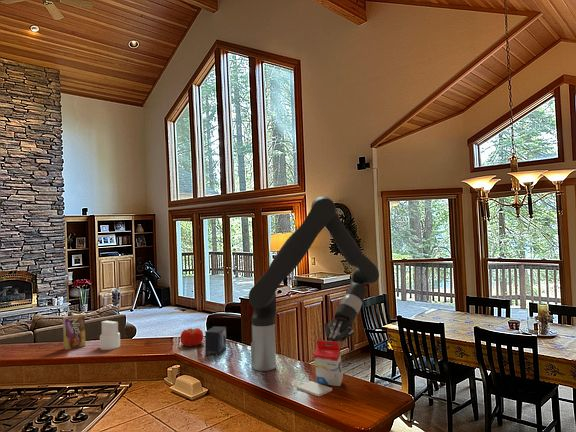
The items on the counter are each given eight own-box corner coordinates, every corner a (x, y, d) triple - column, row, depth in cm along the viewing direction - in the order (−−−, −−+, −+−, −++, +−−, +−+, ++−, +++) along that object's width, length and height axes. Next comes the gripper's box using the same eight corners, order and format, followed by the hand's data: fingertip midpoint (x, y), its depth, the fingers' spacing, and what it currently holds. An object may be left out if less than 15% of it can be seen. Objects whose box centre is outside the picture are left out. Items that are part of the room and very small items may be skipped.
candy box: (83, 344, 210) (82, 313, 210) (85, 346, 207) (85, 314, 207) (63, 348, 204) (62, 316, 204) (65, 350, 201) (65, 317, 201)
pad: (296, 388, 145) (296, 386, 145) (310, 383, 150) (310, 380, 150) (318, 396, 138) (318, 394, 138) (332, 390, 143) (332, 388, 143)
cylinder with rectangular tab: (95, 348, 203) (95, 323, 203) (112, 343, 210) (112, 319, 211) (107, 350, 198) (107, 324, 198) (124, 345, 206) (123, 320, 206)
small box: (218, 356, 185) (218, 332, 185) (204, 355, 186) (204, 331, 186) (227, 349, 195) (226, 326, 195) (213, 348, 196) (213, 325, 197)
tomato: (204, 341, 209) (204, 326, 209) (201, 347, 198) (201, 331, 198) (182, 342, 209) (182, 327, 209) (178, 348, 198) (177, 332, 198)
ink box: (316, 383, 149) (311, 347, 146) (320, 375, 154) (315, 339, 150) (340, 386, 146) (335, 349, 142) (343, 377, 151) (339, 341, 147)
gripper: (330, 301, 162) (309, 339, 153) (358, 305, 152) (337, 346, 143) (339, 312, 165) (319, 351, 156) (367, 317, 156) (348, 358, 147)
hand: (328, 349), depth 150 cm, fingers closed
